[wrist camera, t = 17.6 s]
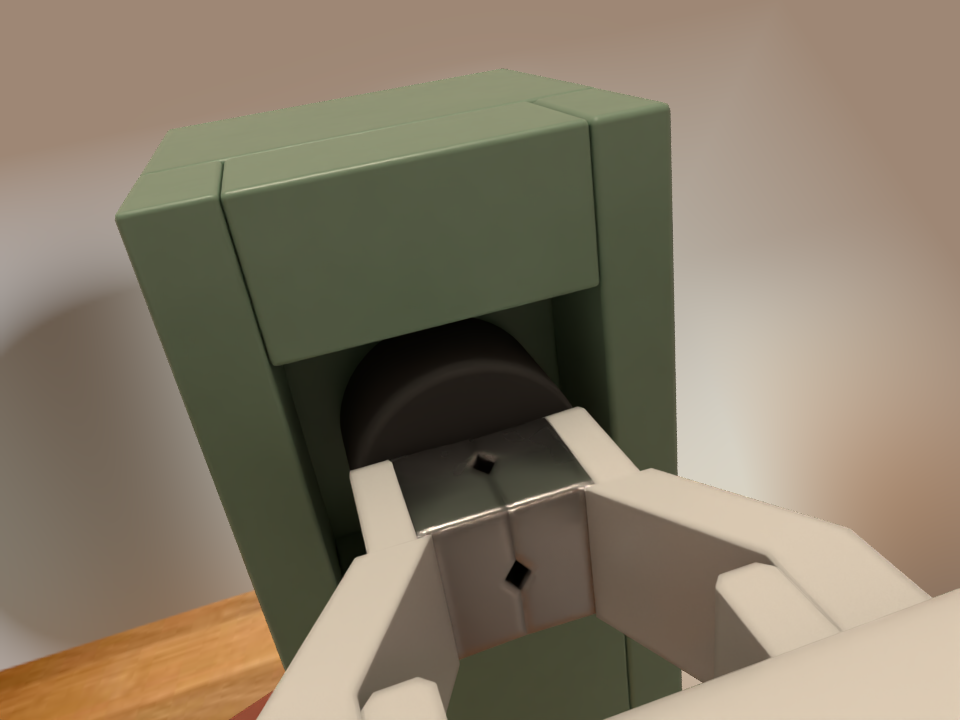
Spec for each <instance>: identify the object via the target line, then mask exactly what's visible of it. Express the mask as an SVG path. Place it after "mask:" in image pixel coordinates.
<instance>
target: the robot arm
mask: <svg viewBox="0 0 960 720" xmlns="http://www.w3.org/2000/svg"><path fill="white" fill-rule="evenodd" d="M349 477H350V482H351V486H352V490H353V495H354V499H355V503H356V508H357V512H358V516H359V521H360V525H361V530H362V534H363V538H364V543H365V547H366V551H367V554H365V555H362V556H359V557H356V558H355V559H354V560H353V562H352V563H351V565H350V567H349V568H348V570H347V572H346V573H345V575H344V577H343V578H342V580H341V582H340V583H339V585H338V586H337V588H336V590H335V591H334V593H333V595H332V596H331V598H330V600H329V601H328V603H327V604H326V606H325V608H324V609H323V611H322V613H321V614H320V616H319V618H318V619H317V621H316V622H315V624H314V626H313V627H312V629H311V631H310V632H309V634H308V636H307V637H306V639H305V640H304V642H303V644H302V645H301V647H300V649H299V650H298V652H297V654H296V655H295V657H294V658H293V660H292V662H291V663H290V665H289V667H288V668H287V670H286V672H285V673H284V675H283V676H282V678H281V680H280V681H279V683H278V685H277V686H276V688H275V690H274V691H273V693H272V694H271V696H270V698H269V699H268V701H267V703H266V704H265V706H264V708H263V709H262V711H261V712H260V714H259V716H258V717H257V719H256V720H447V717H446V712H447V708H448V705H449V701H450V698H451V694H452V691H453V687H454V683H455V680H456V676H457V673H458V669H459V666H460V663H459V660H460V659H463V658H466V657H468V656H471V655H474V654H476V653H479V652H482V651H485V650H487V649H490V648H493V647H495V646H498V645H501V644H503V643H506V642H509V641H512V640H514V639H517V638H520V637H522V636H525V635H527V634H531V633H535V632H538V631H541V630H544V629H548V628H551V627H554V626H557V625H561V624H564V623H567V622H570V621H574V620H577V619H580V618H583V617H587V616H590V615H593V614H596V617H597V618H599V619H601V620H602V621H604V622H605V623H607V624H609V625H610V626H612V627H613V628H615V629H617V630H618V631H620V632H622V633H623V634H625V635H626V636H628V637H630V638H631V639H633V640H635V641H636V642H638V643H639V644H641V645H643V646H644V647H646V648H647V649H649V650H651V651H652V652H654V653H656V654H657V655H659V656H660V657H662V658H664V659H665V660H667V661H669V662H670V663H672V664H673V665H675V666H677V667H678V668H680V669H681V670H683V671H685V672H686V673H688V674H690V675H691V676H693V677H694V678H696V679H698V680H699V681H701V682H703V683H701V684H698V685H696V686H693V687H691V688H688V689H685V690H682V691H679V692H677V693H674V694H671V695H669V696H666V697H663V698H660V699H658V700H655V701H652V702H650V703H647V704H644V705H641V706H639V707H636V708H633V709H631V710H628V711H625V712H622V713H620V714H617V715H614V716H612V717H609V718H606V719H603V720H960V588H959V589H956V590H954V591H950V592H948V593H945V594H942V595H940V596H937V597H934V598H932V597H930V596H929V595H928V594H927V593H926V592H924V591H923V590H922V589H921V588H920V587H918V586H917V585H916V584H915V583H914V582H913V581H911V580H910V579H909V578H908V577H907V576H906V575H904V574H903V573H902V572H901V571H900V570H898V569H897V568H896V567H895V566H894V565H893V564H891V563H890V562H889V561H888V560H887V559H885V558H884V557H883V556H882V555H881V554H880V553H878V552H877V551H876V550H875V549H874V548H872V547H871V546H870V545H869V544H868V543H867V542H865V541H864V540H863V539H862V538H861V537H859V536H858V535H857V534H856V533H855V532H853V531H852V530H851V529H850V528H848V527H844V526H841V525H838V524H834V523H831V522H828V521H825V520H821V519H818V518H815V517H811V516H808V515H805V514H802V513H798V512H795V511H791V510H788V509H785V508H782V507H778V506H775V505H772V504H768V503H765V502H761V501H759V500H755V499H752V498H749V497H745V496H742V495H739V494H735V493H732V492H729V491H726V490H722V489H719V488H716V487H712V486H709V485H706V484H703V483H699V482H696V481H692V480H689V479H686V478H683V477H679V476H676V475H673V474H670V473H666V472H663V471H660V470H656V469H653V468H649V469H646V470H643V471H640V470H639V469H638V468H637V467H636V466H635V465H634V464H633V463H632V461H631V460H630V459H629V458H628V457H627V456H626V455H625V454H624V452H623V451H622V450H621V449H620V448H619V447H618V446H617V445H616V443H615V442H614V441H613V440H612V439H611V438H610V437H609V436H608V434H607V433H606V432H605V431H604V430H603V429H602V428H601V427H600V425H599V424H598V423H597V422H596V421H595V420H594V419H593V418H592V416H591V415H590V414H589V413H588V412H587V411H586V410H585V409H584V408H582V407H578V406H577V407H574V408H571V409H568V410H565V411H562V412H559V413H555V414H552V415H549V416H546V417H543V418H541V419H538V420H535V421H531V422H528V423H525V424H521V425H518V426H515V427H512V428H508V429H505V430H502V431H499V432H495V433H492V434H489V435H485V436H482V437H479V438H476V439H472V440H464V441H460V442H456V443H453V444H449V445H445V446H441V447H437V448H433V449H429V450H426V451H422V452H418V453H414V454H410V455H406V456H402V457H399V458H395V459H391V462H390V461H389V460H386V461H382V462H379V463H376V464H372V465H369V466H365V467H362V468H358V469H355V470H351V471H350V476H349Z"/></svg>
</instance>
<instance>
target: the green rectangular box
mask: <svg viewBox="0 0 960 720" xmlns="http://www.w3.org/2000/svg"><path fill="white" fill-rule="evenodd" d="M670 126H671V121H670V108H669V105H668V104H666V103H663V102H658V101H654V100H649V99H644V98H639V97H634V96H630V95H625V94H620V93H615V92H611V91H606V90H601V89H596V88H593V87H589V86H584V85H580V84H575V83H570V82H565V81H561V80H556V79H551V78H546V77H541V76H536V75H532V74H527V73H522V72H517V71H512V70H508V69H498V70H492V71H487V72H482V73H476V74H471V75H465V76H460V77H454V78H449V79H443V80H438V81H433V82H427V83H422V84H416V85H411V86H405V87H400V88H395V89H389V90H384V91H378V92H373V93H367V94H362V95H356V96H351V97H345V98H340V99H335V100H329V101H324V102H319V103H313V104H308V105H302V106H297V107H291V108H286V109H280V110H275V111H270V112H264V113H258V114H253V115H247V116H242V117H237V118H232V119H226V120H220V121H215V122H210V123H204V124H198V125H193V126H188V127H182V128H177V129H172V130H169V131H168V132H167V134H166V135H165V137H164V139H163V140H162V142H161V143H160V145H159V147H158V148H157V150H156V151H155V153H154V155H153V156H152V158H151V159H150V161H149V163H148V164H147V166H146V167H145V169H144V171H143V172H142V174H141V175H140V177H139V178H138V180H137V181H136V183H135V185H134V186H133V188H132V189H131V191H130V193H129V194H128V196H127V197H126V199H125V200H124V202H123V204H122V205H121V207H120V208H119V210H118V212H117V213H116V215H115V222H116V224H117V227H118V230H119V232H120V235H121V238H122V240H123V243H124V245H125V248H126V250H127V253H128V256H129V259H130V261H131V264H132V267H133V269H134V272H135V274H136V277H137V280H138V282H139V285H140V288H141V290H142V293H143V296H144V298H145V301H146V304H147V306H148V309H149V312H150V314H151V317H152V320H153V322H154V325H155V327H156V330H157V333H158V336H159V338H160V341H161V343H162V346H163V349H164V351H165V354H166V357H167V359H168V362H169V365H170V367H171V370H172V373H173V375H174V378H175V381H176V383H177V386H178V389H179V391H180V394H181V396H182V399H183V402H184V404H185V407H186V410H187V412H188V415H189V418H190V420H191V423H192V426H193V428H194V431H195V433H196V436H197V438H198V442H199V444H200V447H201V449H202V452H203V455H204V457H205V460H206V463H207V465H208V468H209V471H210V473H211V476H212V478H213V481H214V484H215V486H216V489H217V492H218V494H219V497H220V500H221V502H222V505H223V507H224V510H225V513H226V516H227V518H228V521H229V524H230V526H231V529H232V531H233V534H234V537H235V539H236V542H237V544H238V547H239V550H240V553H241V555H242V558H243V561H244V563H245V566H246V569H247V571H248V574H249V577H250V579H251V582H252V585H253V587H254V590H255V593H256V595H257V598H258V600H259V603H260V606H261V608H262V611H263V614H264V616H265V619H266V622H267V624H268V627H269V630H270V632H271V635H272V638H273V640H274V643H275V645H276V648H277V651H278V653H279V656H280V659H281V661H282V664H283V667H284V669H285V672H286V670H287V668H288V667H289V665H290V663H291V662H292V660H293V658H294V657H295V655H296V654H297V652H298V650H299V649H300V647H301V645H302V644H303V642H304V640H305V639H306V637H307V636H308V634H309V632H310V631H311V629H312V627H313V626H314V624H315V622H316V621H317V619H318V618H319V616H320V614H321V613H322V611H323V609H324V608H325V606H326V604H327V603H328V601H329V600H330V598H331V596H332V595H333V593H334V591H335V590H336V588H337V586H338V585H339V583H340V582H341V580H342V578H343V577H344V575H345V573H346V572H347V570H348V568H349V567H350V565H351V563H352V562H353V560H354V559H355V558H356V557H359V556H362V555H365V554H367V551H366V547H365V543H364V538H363V534H362V530H361V525H360V521H359V516H358V512H357V508H356V503H355V499H354V495H353V490H352V486H351V482H350V477H349V476H350V468H349V464H348V460H347V456H346V451H345V447H344V443H343V439H342V433H341V428H340V411H341V403H342V399H343V395H344V392H345V389H346V386H347V384H348V382H349V379H350V377H351V376H352V374H353V372H354V370H355V369H356V367H357V366H358V364H359V363H360V362H361V361H362V359H363V358H364V357H365V355H366V354H367V353H368V352H369V351H370V350H371V349H372V348H373V347H374V346H375V345H377V344H378V343H379V342H380V341H382V340H384V339H388V338H392V337H396V336H400V335H404V334H408V333H412V332H416V331H420V330H424V329H428V328H432V327H436V326H440V325H444V324H448V323H452V322H456V321H460V320H464V319H468V318H476V319H481V320H484V321H486V322H489V323H492V324H494V325H496V326H498V327H500V328H502V329H503V330H505V331H506V332H508V333H509V334H510V335H512V336H513V337H514V338H515V339H516V340H517V341H518V342H519V343H520V344H521V345H522V346H523V347H524V348H525V350H526V351H527V352H528V353H529V354H530V355H531V357H532V358H533V359H534V360H535V361H536V363H537V364H538V365H539V366H540V367H541V368H542V370H543V371H544V372H545V373H546V374H547V375H548V377H549V378H550V379H551V380H552V381H553V383H554V384H555V385H556V386H557V387H558V388H559V390H560V391H561V392H562V393H563V394H564V396H565V397H566V398H567V400H568V401H569V402H570V404H571V405H572V407H573V408H574V407H577V406H578V407H582V408H584V409H585V410H586V411H587V412H588V413H589V414H590V415H591V416H592V418H593V419H594V420H595V421H596V422H597V423H598V424H599V425H600V427H601V428H602V429H603V430H604V431H605V432H606V433H607V434H608V436H609V437H610V438H611V439H612V440H613V441H614V442H615V443H616V445H617V446H618V447H619V448H620V449H621V450H622V451H623V452H624V454H625V455H626V456H627V457H628V458H629V459H630V460H631V461H632V463H633V464H634V465H635V466H636V467H637V468H638V469H639V470H640V471H643V470H646V469H649V468H653V469H656V470H660V471H663V472H666V473H670V474H673V475H676V476H678V475H677V474H678V473H677V423H676V372H675V322H674V273H673V222H672V170H671V127H670ZM459 663H460V666H459V669H458V673H457V676H456V680H455V683H454V687H453V691H452V694H451V698H450V701H449V705H448V708H447V712H446V717H447V720H603V719H606V718H609V717H612V716H614V715H617V714H620V713H622V712H625V711H628V710H631V709H633V708H636V707H639V706H641V705H644V704H647V703H650V702H652V701H655V700H658V699H660V698H663V697H666V696H669V695H671V694H674V693H677V692H679V691H682V679H681V678H682V677H681V669H680V668H678V667H677V666H675V665H673V664H672V663H670V662H669V661H667V660H665V659H664V658H662V657H660V656H659V655H657V654H656V653H654V652H652V651H651V650H649V649H647V648H646V647H644V646H643V645H641V644H639V643H638V642H636V641H635V640H633V639H631V638H630V637H628V636H626V635H625V634H623V633H622V632H620V631H618V630H617V629H615V628H613V627H612V626H610V625H609V624H607V623H605V622H604V621H602V620H601V619H599V618H597V617H596V614H593V615H590V616H587V617H583V618H580V619H577V620H574V621H570V622H567V623H564V624H561V625H557V626H554V627H551V628H548V629H544V630H541V631H538V632H535V633H531V634H527V635H525V636H522V637H520V638H517V639H514V640H512V641H509V642H506V643H503V644H501V645H498V646H495V647H493V648H490V649H487V650H485V651H482V652H479V653H476V654H474V655H471V656H468V657H466V658H463V659H460V660H459Z"/></svg>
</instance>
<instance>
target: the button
mask: <svg viewBox="0 0 960 720" xmlns="http://www.w3.org/2000/svg"><path fill="white" fill-rule="evenodd" d="M571 408H573V407H572V405H571V404H570V402H569V401H568V400H567V398H566V397H565V396H564V394H563V393H562V392H561V391H560V390H559V388H558V387H557V386H556V385H555V384H554V383H553V381H552V380H551V379H550V378H549V377H548V375H547V374H546V373H545V372H544V371H543V370H542V368H541V367H540V366H539V365H538V364H537V363H536V361H535V360H534V359H533V358H532V357H531V355H530V354H529V353H528V352H527V351H526V350H525V348H524V347H523V346H522V345H521V344H520V343H519V342H518V341H517V340H516V339H515V338H514V337H513V336H512V335H510V334H509V333H508V332H506V331H505V330H503V329H502V328H500V327H498V326H496V325H494V324H492V323H489V322H486V321H484V320H481V319H476V318H468V319H464V320H460V321H456V322H452V323H448V324H444V325H440V326H436V327H432V328H428V329H424V330H420V331H416V332H412V333H408V334H404V335H400V336H396V337H392V338H388V339H384V340H382V341H380V342H379V343H378V344H377V345H375V346H374V347H373V348H372V349H371V350H370V351H369V352H368V353H367V354H366V355H365V357H364V358H363V359H362V361H361V362H360V363H359V364H358V366H357V367H356V369H355V370H354V372H353V374H352V376H351V377H350V379H349V382H348V384H347V386H346V389H345V392H344V395H343V399H342V403H341V411H340V428H341V433H342V439H343V443H344V447H345V451H346V456H347V460H348V464H349V468H350V471H351V470H355V469H358V468H362V467H365V466H369V465H372V464H376V463H379V462H382V461H386V460H389V461H390V462H391V459H395V458H399V457H402V456H406V455H410V454H414V453H418V452H422V451H426V450H429V449H433V448H437V447H441V446H445V445H449V444H453V443H456V442H460V441H464V440H472V439H476V438H479V437H482V436H485V435H489V434H492V433H495V432H499V431H502V430H505V429H508V428H512V427H515V426H518V425H521V424H525V423H528V422H531V421H535V420H538V419H541V418H543V417H546V416H549V415H552V414H555V413H559V412H562V411H565V410H568V409H571Z"/></svg>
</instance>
